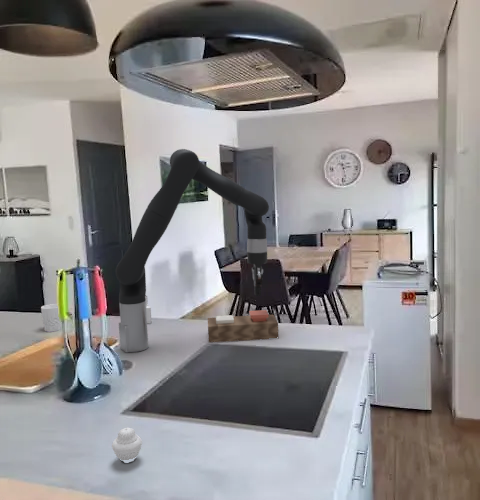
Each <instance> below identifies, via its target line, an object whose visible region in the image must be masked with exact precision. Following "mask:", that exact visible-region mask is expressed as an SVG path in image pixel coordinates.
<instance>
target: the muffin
mask: <svg viewBox="0 0 480 500" xmlns="http://www.w3.org/2000/svg"><path fill="white" fill-rule="evenodd" d="M142 445H143V440H142V438H141V437H140V436H139V435H138V434H137V433H136V430H135V429H134V428H132V427H125V428H122V429H120V430H119V431H118V433H117V437H116V438H114V440H113V442H112V445H111V447H112V450H113V452H114V454H115V456H116V458H119V459H121V460H129V459H133V458H135V457H136V456H137V455H139V453H140V451H141V450H142V449H141V448H142ZM137 457H138V456H137ZM119 459H118V460H119Z"/></svg>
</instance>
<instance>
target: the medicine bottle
mask: <svg viewBox="0 0 480 500" xmlns="http://www.w3.org/2000/svg"><path fill="white" fill-rule="evenodd" d="M146 314H147V325H149V324H150V325H151V324H152V322H153V321H152V307H151V306H150V305H149V304H148V295H146Z"/></svg>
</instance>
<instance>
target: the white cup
mask: <svg viewBox="0 0 480 500" xmlns="http://www.w3.org/2000/svg"><path fill="white" fill-rule="evenodd" d="M57 304H58V303H51V304H45V305H42V306H41V307H40V311H41V318H42V324H43V329H44V332H49V333H51V332H52V333H53V332H57V331H60V330H62V329H61V324H60V321H59V317H58V306H57Z"/></svg>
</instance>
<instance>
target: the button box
mask: <svg viewBox="0 0 480 500" xmlns="http://www.w3.org/2000/svg"><path fill="white" fill-rule="evenodd" d="M233 318H234V323H224V324H216V317H207V333H208V336H207V337H208V338H207V339H208V343H223V342H238V341H239V342H240V341H242V342H243V341H259V340H260V339H262V340H270V339H269V338H277V337H278V338H279V322H278V320H277V318H276V316H275V315H274V314H268V318H266V321H260V322H252V319H251V317H250V315H239V316H238V315H237V316H236V315H235V316H233Z"/></svg>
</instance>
